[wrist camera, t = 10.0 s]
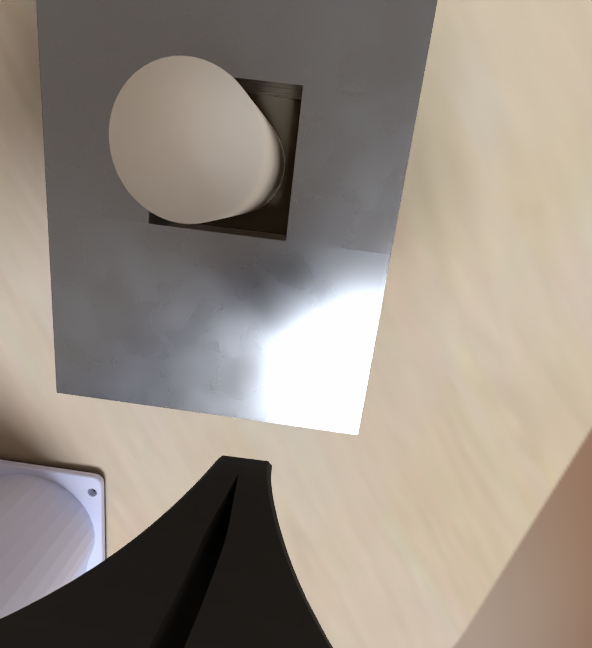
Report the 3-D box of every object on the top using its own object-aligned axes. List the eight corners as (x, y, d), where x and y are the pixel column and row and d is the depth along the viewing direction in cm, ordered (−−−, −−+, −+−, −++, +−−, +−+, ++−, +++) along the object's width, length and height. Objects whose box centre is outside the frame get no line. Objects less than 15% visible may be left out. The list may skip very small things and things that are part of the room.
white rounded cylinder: (276, 222, 19) (250, 236, 13) (181, 204, 19) (105, 209, 13) (292, 117, 18) (273, 71, 11) (190, 98, 18) (112, 41, 11)
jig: (354, 408, 22) (357, 434, 19) (85, 371, 22) (56, 392, 20) (427, -8, 16) (445, -42, 14) (73, -46, 17) (31, -86, 14)
